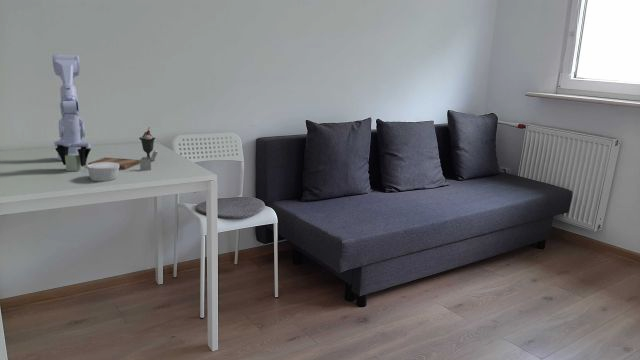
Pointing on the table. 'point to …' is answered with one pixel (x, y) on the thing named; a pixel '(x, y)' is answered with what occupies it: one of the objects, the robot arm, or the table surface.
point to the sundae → (147, 143)
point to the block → (73, 162)
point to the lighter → (147, 161)
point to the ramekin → (103, 171)
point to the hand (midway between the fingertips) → (74, 165)
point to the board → (119, 162)
